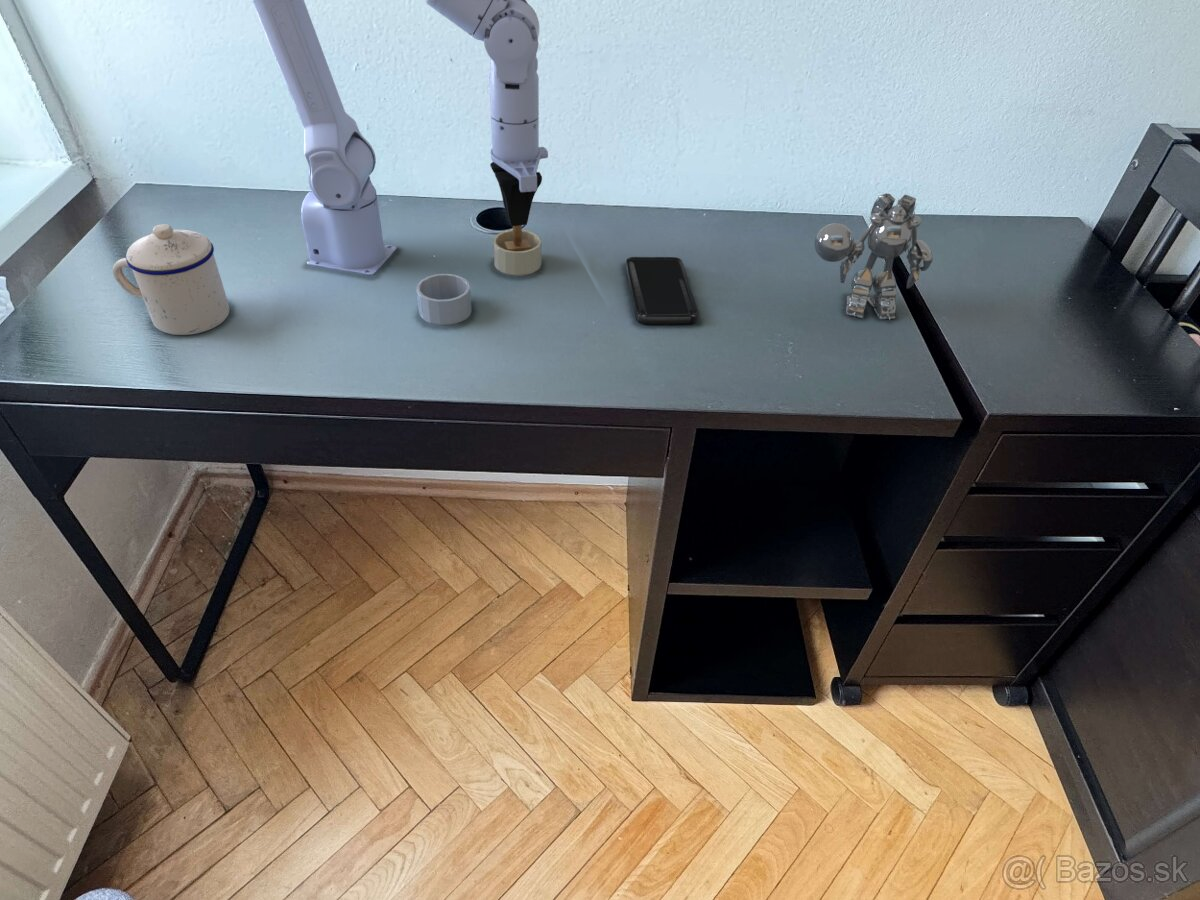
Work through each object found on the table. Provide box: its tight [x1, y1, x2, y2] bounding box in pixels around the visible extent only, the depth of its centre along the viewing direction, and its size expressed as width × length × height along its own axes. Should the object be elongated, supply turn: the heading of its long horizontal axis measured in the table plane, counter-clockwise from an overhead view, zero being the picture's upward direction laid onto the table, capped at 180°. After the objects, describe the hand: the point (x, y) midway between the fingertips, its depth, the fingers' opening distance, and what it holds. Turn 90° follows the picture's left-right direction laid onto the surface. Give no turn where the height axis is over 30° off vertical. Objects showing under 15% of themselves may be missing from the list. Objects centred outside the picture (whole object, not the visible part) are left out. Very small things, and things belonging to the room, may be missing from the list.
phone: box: [625, 256, 699, 325], centre depth 106 cm, size 8×1×15 cm
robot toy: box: [814, 192, 933, 320], centre depth 101 cm, size 15×6×15 cm, turn 87°
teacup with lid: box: [112, 223, 231, 336], centre depth 93 cm, size 12×9×12 cm
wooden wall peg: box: [504, 225, 531, 251], centre depth 106 cm, size 3×2×7 cm
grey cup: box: [416, 273, 473, 326], centre depth 99 cm, size 6×6×4 cm
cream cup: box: [492, 229, 543, 276], centre depth 108 cm, size 6×6×4 cm
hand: (516, 221), depth 105 cm, fingers closed on wooden wall peg, 1 cm apart
